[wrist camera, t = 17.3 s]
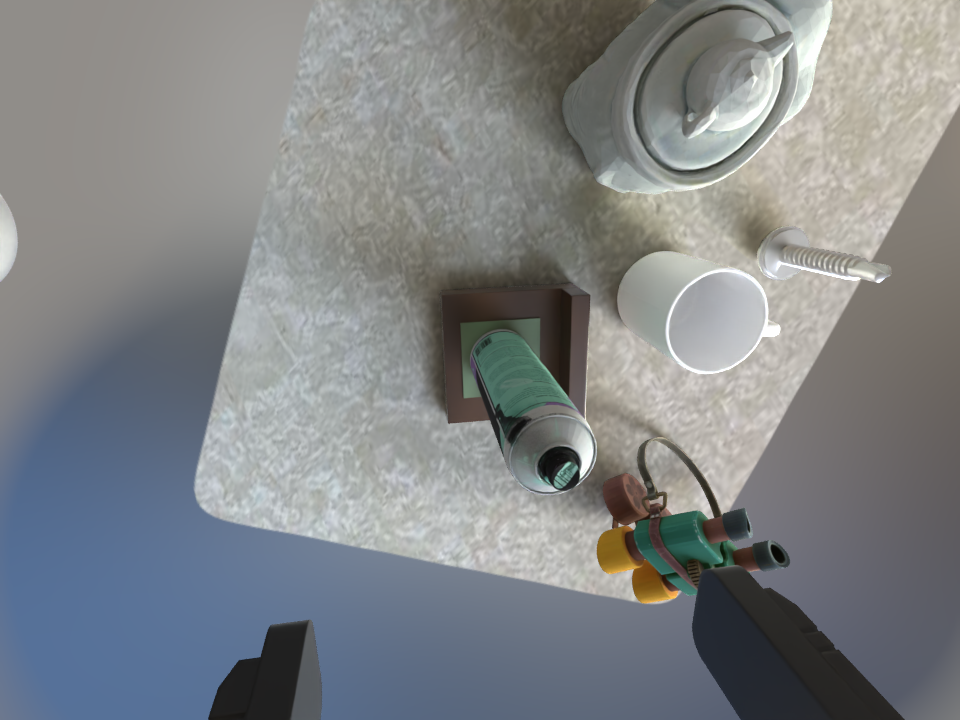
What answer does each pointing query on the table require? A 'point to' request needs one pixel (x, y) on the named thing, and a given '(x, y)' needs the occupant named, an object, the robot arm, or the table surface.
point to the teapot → (694, 90)
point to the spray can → (531, 415)
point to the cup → (694, 310)
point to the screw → (811, 258)
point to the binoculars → (674, 536)
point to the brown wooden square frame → (530, 313)
